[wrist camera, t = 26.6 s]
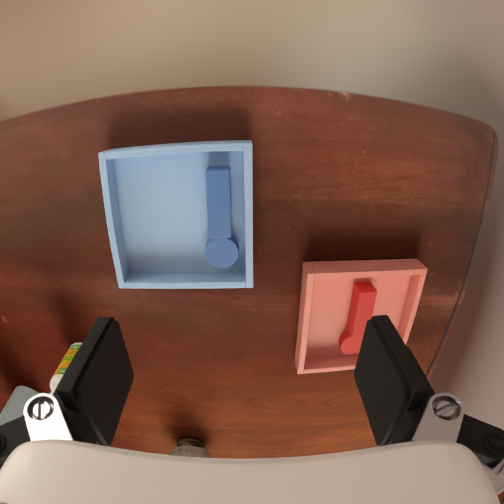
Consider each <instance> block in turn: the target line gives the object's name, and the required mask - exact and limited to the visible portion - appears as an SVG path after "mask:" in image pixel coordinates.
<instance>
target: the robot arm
mask: <svg viewBox="0 0 504 504" xmlns="http://www.w3.org/2000/svg"><path fill="white" fill-rule="evenodd" d="M133 378H134V373H133V369H132V366H131V363H130V360H129V356H128V353H127V350H126V346H125V343H124V340H123V336H122V332H121V329H120V325H119V323H118V322H117V321H115V319H114V318H113V317H101V316H100V317H98V318H97V320H96V321H95V323H94V324H93V326H92V328H91V329H90V331H89V333H88V334H87V336H86V338H85V339H84V341H83V343H82V344H81V346H80V348H79V349H78V351H77V352H76V354H75V355H74V357H73V359H72V361H71V362H70V364H69V366H68V368H67V369H66V371H65V373H64V375H63V376H62V378H61V380H60V382H59V384H58V386H57V387H56V389H55V391H54V393H53V395H51V394H48V393H40V394H36V395H34V396H32V397H31V398H30V399H29V400H28V401H27V402H26V404H25V406H24V415H23V416H21V417H19V418H16V419H14V420H12V421H9V422H7V423H5V424H2V425H0V504H504V431H503V430H502V429H500V428H497V427H495V426H492V425H490V424H487V423H485V422H482V421H479V420H477V419H475V418H472V417H470V416H468V415H465V414H464V405H463V403H462V402H461V400H460V399H459V398H458V397H457V396H455V395H453V394H451V393H447V392H439V393H436V394H435V393H434V391H433V389H432V387H431V385H430V384H429V382H428V380H427V378H426V376H425V375H424V373H423V371H422V369H421V367H420V366H419V364H418V362H417V360H416V359H415V357H414V355H413V353H412V352H411V350H410V349H409V347H407V346H406V345H405V343H404V341H403V340H402V338H401V336H400V335H399V333H398V331H397V330H396V328H395V326H394V325H393V323H392V321H391V320H390V318H389V316H388V315H376V316H372V318H371V320H368V321H367V323H366V327H365V331H364V335H363V340H362V344H361V348H360V351H359V355H358V359H357V363H356V366H355V370H354V378H355V381H356V384H357V387H358V390H359V393H360V396H361V399H362V402H363V404H364V407H365V410H366V413H367V416H368V419H369V423H370V426H371V429H372V432H373V435H374V438H375V441H376V444H377V445H378V446H379V445H381V446H380V447H374V448H368V449H361V450H354V451H347V452H339V453H331V454H322V455H312V456H300V457H285V458H260V459H226V458H201V457H186V456H174V455H163V454H155V453H147V452H139V451H133V450H126V449H119V448H113V447H107V446H110V445H111V444H112V442H113V438H114V435H115V432H116V429H117V426H118V423H119V420H120V417H121V414H122V411H123V408H124V405H125V402H126V399H127V396H128V393H129V390H130V388H131V385H132V382H133Z"/></svg>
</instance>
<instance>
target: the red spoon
mask: <svg viewBox="0 0 504 504" xmlns="http://www.w3.org/2000/svg"><path fill="white" fill-rule="evenodd" d="M376 296H377V290H376V289H375V287H374V286H373V284H372V283H371V282H370V281H368V282H354V285H353V291H352V297H351V303H350V308H349V314H348V319H347V325H346V328H347V331H345V332H344V333H343V334H342V335H341V336H340V338H339V341H338V342H339V346H340V349H341V351H342V352H343V353H344V354H346V355H355V354H357V353H359V351H360V348H361V344H362V340H363V335H364V331H365V327H366V323H367V321H368V320H371V318H372V315H373V310H374V306H375V301H376Z"/></svg>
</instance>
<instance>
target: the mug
mask: <svg viewBox="0 0 504 504" xmlns="http://www.w3.org/2000/svg"><path fill="white" fill-rule="evenodd" d="M36 394H40V393H38V392H37V391H35V390H33V389H31V388H29V387H26V386H17V387H16V388H15V390H14V392H13V393H12V395H11V397H10V398H9V400H8V402H7V403H6V405H5V407H4V409H3V410H2V412H1V414H0V425H2V424H5V423H7V422H9V421H12V420H14V419H16V418H19V417H21V416H23V415H24V406H25V404H26V402H27V401H28V400H29V399H30V398H31V397H32V396H34V395H36Z"/></svg>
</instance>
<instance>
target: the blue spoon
mask: <svg viewBox="0 0 504 504" xmlns="http://www.w3.org/2000/svg"><path fill="white" fill-rule="evenodd" d="M205 178H206V200H207V219H208V236H209V239H208V241H207V243H206V246H205V251H204V254H205V258H206V260H207V261H208V263H209V264H211V265H212V266H214V267H216V268H228V267H230V266H232V265H233V264H234V263H235V262H236V261H237V259H238V256H239V245H238V242H237V241H236V239H235V238H234V237H233V236H231V235H232V213H231V174H230V166H208V167H207V169H206V170H205Z"/></svg>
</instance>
